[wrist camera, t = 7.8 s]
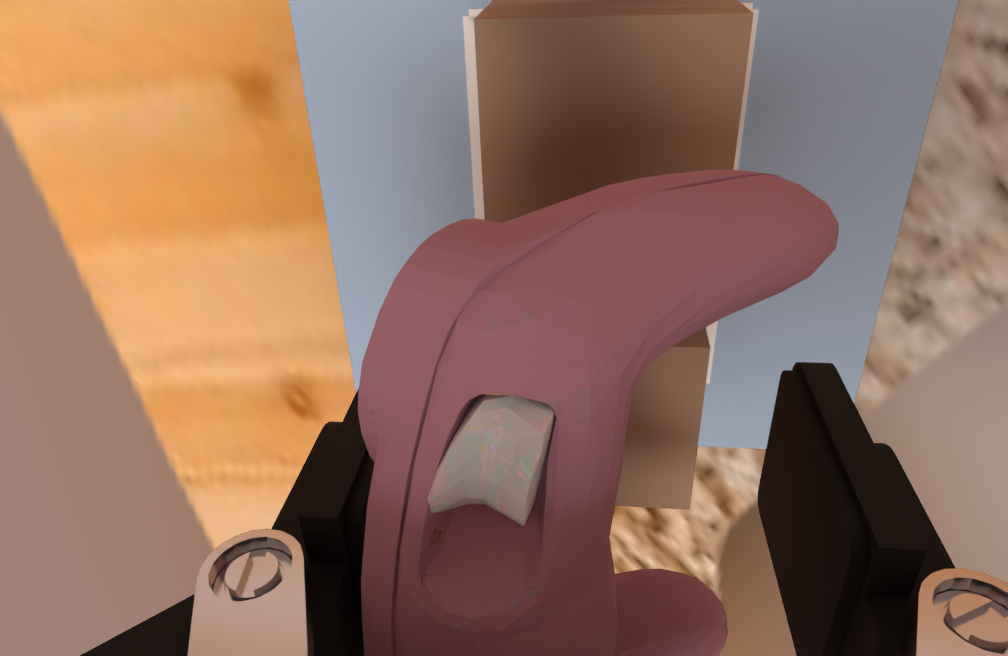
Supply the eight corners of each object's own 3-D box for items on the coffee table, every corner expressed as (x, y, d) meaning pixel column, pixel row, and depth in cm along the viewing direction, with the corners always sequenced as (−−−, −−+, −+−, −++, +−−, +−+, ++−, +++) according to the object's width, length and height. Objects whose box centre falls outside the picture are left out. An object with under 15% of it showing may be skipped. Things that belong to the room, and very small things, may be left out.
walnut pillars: (715, -18, 17) (753, 13, 13) (673, 396, 23) (689, 509, 19) (504, -13, 18) (473, 19, 13) (517, 390, 24) (499, 499, 20)
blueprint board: (971, -128, 16) (994, -129, 15) (832, 432, 24) (841, 454, 24) (287, -99, 18) (270, -98, 17) (370, 413, 26) (362, 432, 25)
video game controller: (568, 109, 12) (217, 266, 7) (868, 160, 10) (691, 443, 5) (541, 537, 17) (329, 810, 12) (734, 629, 15) (579, 1009, 10)
